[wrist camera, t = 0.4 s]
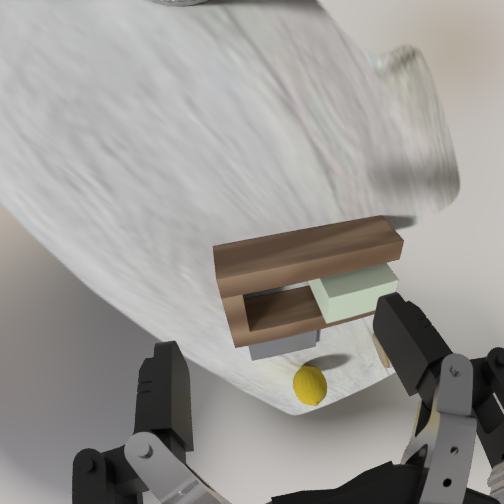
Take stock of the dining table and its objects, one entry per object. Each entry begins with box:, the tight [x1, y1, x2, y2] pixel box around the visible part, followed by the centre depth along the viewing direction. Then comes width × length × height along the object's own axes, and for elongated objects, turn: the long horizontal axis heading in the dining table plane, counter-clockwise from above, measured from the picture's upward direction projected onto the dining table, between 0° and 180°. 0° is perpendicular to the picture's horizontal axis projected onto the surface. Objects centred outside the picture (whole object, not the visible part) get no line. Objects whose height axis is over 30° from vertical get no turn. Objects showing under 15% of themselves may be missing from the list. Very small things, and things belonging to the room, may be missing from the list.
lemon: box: [293, 366, 327, 406], centre depth 45 cm, size 6×6×8 cm
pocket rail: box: [213, 216, 404, 348], centre depth 32 cm, size 11×19×5 cm, turn 96°
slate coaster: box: [249, 330, 317, 361], centre depth 40 cm, size 10×10×1 cm
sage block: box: [308, 263, 398, 324], centre depth 31 cm, size 4×8×7 cm, turn 96°
